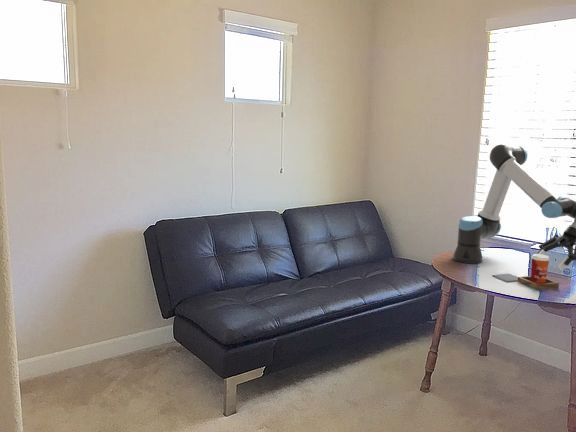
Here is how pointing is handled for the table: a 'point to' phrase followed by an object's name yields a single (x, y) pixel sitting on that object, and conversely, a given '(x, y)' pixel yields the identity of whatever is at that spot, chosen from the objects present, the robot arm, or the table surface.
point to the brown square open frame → (548, 284)
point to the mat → (506, 277)
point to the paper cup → (539, 268)
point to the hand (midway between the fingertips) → (546, 265)
